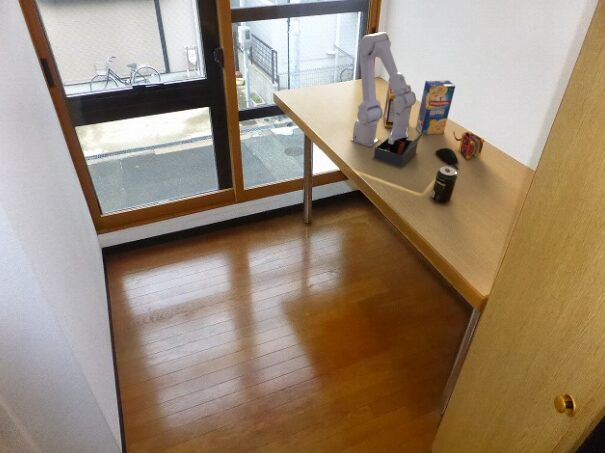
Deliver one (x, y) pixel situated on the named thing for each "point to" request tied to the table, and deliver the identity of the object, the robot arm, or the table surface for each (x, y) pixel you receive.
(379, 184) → the table surface
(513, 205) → the table surface
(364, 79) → the robot arm
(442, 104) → the beverage box
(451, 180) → the beverage can
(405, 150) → the flap
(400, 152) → the small box
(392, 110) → the supplement box
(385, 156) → the storage box
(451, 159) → the gaming mouse
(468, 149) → the book monster
